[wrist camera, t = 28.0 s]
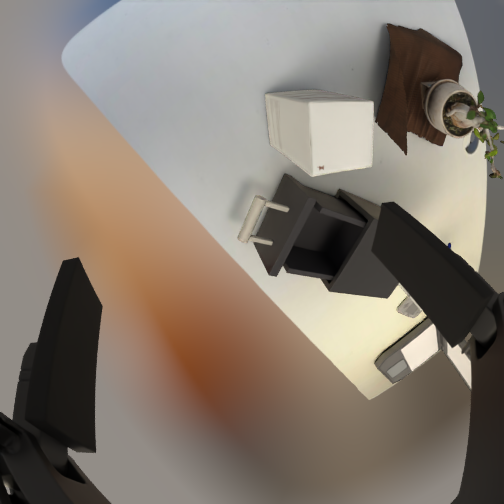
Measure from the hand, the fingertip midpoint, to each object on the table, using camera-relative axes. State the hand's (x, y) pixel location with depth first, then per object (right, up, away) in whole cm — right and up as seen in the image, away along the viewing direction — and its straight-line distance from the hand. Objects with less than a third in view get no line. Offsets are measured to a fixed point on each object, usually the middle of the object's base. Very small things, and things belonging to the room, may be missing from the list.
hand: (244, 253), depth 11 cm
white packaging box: (+6, +18, +23) cm, 29 cm away
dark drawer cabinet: (+18, +4, +37) cm, 41 cm away
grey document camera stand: (+62, -36, +80) cm, 107 cm away
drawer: (+7, +5, +31) cm, 32 cm away
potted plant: (+27, +27, +23) cm, 44 cm away
